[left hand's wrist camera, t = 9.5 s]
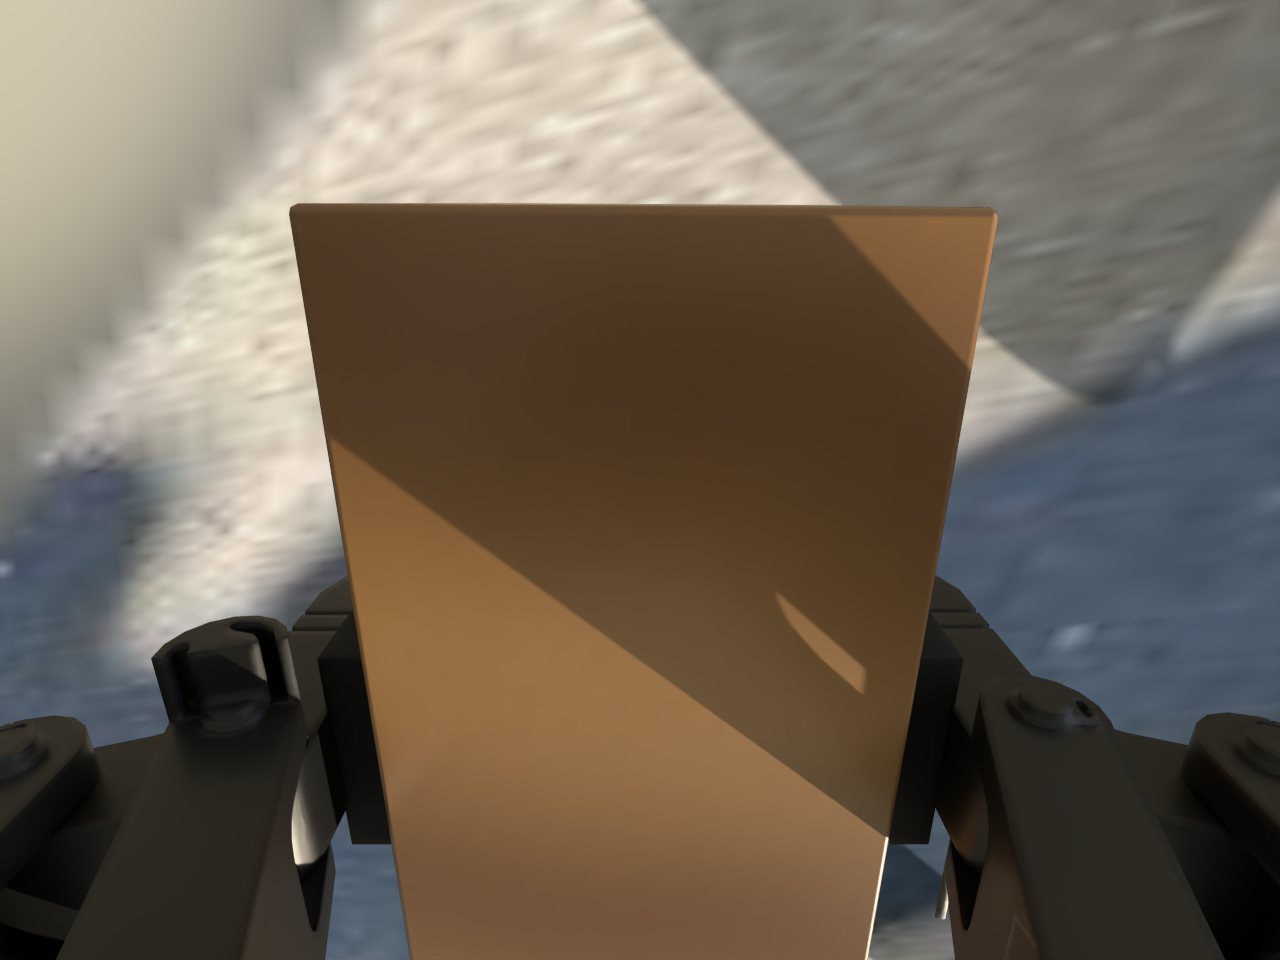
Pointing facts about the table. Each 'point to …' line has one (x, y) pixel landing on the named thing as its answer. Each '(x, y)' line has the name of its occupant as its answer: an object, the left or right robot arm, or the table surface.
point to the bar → (641, 554)
